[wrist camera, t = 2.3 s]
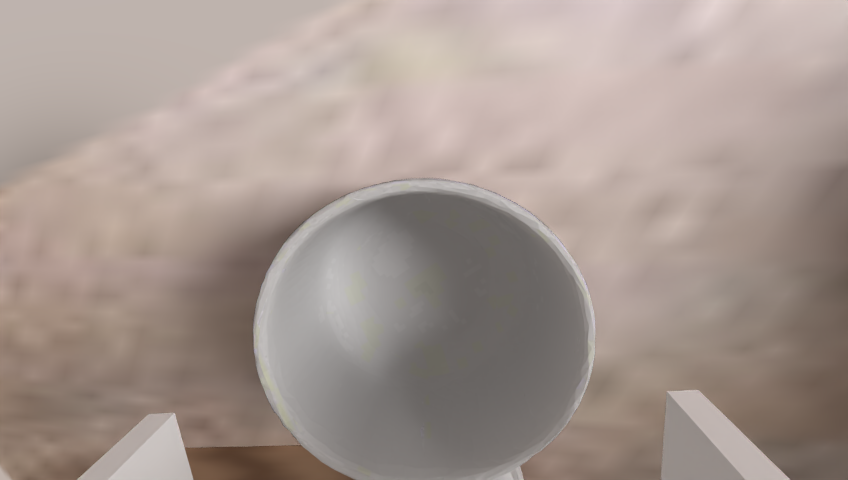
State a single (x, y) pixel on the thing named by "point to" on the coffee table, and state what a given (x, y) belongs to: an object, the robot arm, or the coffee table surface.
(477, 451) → the teacup
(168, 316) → the coffee table surface
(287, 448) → the base block
